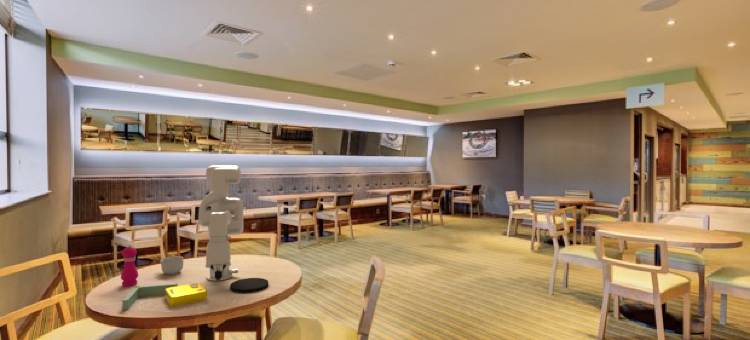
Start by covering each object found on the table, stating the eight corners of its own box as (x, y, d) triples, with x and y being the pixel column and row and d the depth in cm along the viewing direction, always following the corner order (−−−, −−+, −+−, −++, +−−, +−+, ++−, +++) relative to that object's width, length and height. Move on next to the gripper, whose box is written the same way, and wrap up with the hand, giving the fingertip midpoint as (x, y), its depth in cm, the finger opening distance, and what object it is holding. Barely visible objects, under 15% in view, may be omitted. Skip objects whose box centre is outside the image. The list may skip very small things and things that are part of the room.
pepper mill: (129, 287, 182) (129, 246, 181) (117, 286, 183) (116, 245, 183) (141, 283, 189) (141, 243, 188) (129, 281, 190) (129, 242, 190)
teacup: (187, 272, 208) (187, 257, 207) (167, 277, 198) (167, 262, 198) (173, 268, 215) (173, 254, 215) (153, 272, 206) (153, 258, 206)
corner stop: (177, 291, 177) (177, 283, 177) (169, 305, 160) (169, 296, 160) (135, 295, 171) (135, 286, 171) (122, 310, 154) (122, 300, 154)
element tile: (164, 297, 170) (164, 287, 170) (199, 291, 179) (199, 280, 179) (170, 308, 158) (170, 296, 158) (208, 300, 167) (208, 289, 167)
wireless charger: (266, 292, 177) (266, 288, 177) (226, 294, 174) (226, 290, 174) (270, 280, 195) (270, 277, 195) (233, 282, 192) (233, 278, 192)
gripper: (236, 237, 178) (236, 276, 178) (201, 238, 173) (201, 279, 173) (235, 239, 171) (235, 280, 171) (199, 241, 166) (199, 283, 166)
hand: (218, 279), depth 172 cm, fingers closed
